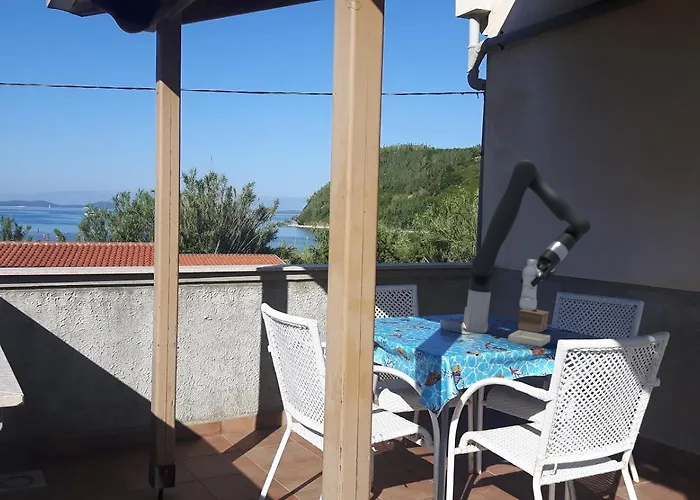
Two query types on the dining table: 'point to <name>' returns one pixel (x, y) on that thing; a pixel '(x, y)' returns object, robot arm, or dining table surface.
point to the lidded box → (533, 320)
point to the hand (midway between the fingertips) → (526, 283)
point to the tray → (529, 338)
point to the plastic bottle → (529, 286)
